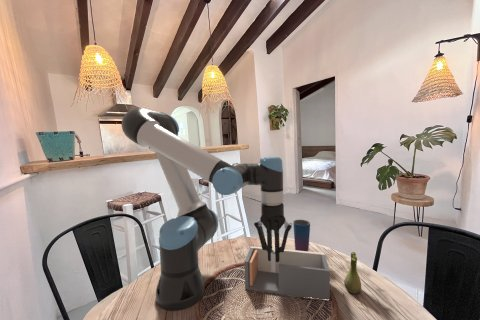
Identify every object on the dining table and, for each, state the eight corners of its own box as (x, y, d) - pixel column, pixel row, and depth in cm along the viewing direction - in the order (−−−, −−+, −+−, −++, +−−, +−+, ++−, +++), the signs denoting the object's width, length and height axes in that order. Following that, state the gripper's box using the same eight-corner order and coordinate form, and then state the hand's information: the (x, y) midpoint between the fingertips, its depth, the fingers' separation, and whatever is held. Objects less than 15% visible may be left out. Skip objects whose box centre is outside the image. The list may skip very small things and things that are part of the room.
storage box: (245, 289, 70) (244, 261, 69) (251, 270, 81) (250, 246, 80) (329, 301, 64) (329, 271, 63) (324, 279, 74) (324, 253, 74)
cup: (311, 262, 86) (311, 225, 85) (293, 260, 87) (293, 224, 86) (309, 253, 92) (309, 219, 91) (293, 252, 94) (293, 219, 93)
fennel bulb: (355, 298, 65) (356, 260, 64) (340, 289, 69) (340, 253, 68) (364, 290, 68) (365, 254, 68) (349, 282, 72) (349, 248, 72)
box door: (252, 286, 70) (251, 262, 69) (249, 285, 70) (249, 262, 69) (257, 271, 78) (257, 250, 77) (255, 270, 78) (255, 249, 78)
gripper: (292, 200, 73) (294, 266, 75) (256, 199, 78) (258, 261, 79) (290, 206, 66) (292, 279, 68) (250, 204, 70) (253, 273, 72)
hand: (274, 270), depth 73 cm, fingers closed
